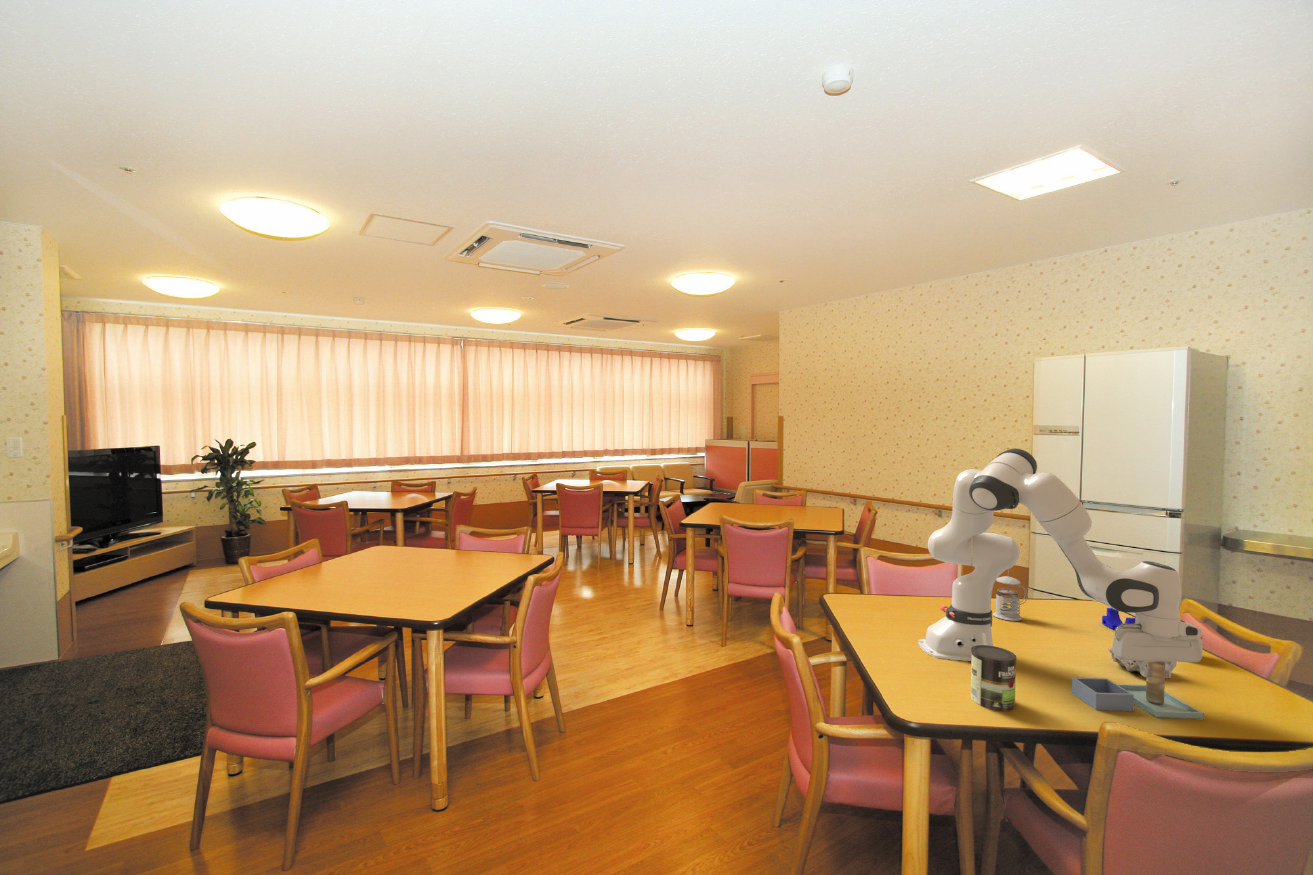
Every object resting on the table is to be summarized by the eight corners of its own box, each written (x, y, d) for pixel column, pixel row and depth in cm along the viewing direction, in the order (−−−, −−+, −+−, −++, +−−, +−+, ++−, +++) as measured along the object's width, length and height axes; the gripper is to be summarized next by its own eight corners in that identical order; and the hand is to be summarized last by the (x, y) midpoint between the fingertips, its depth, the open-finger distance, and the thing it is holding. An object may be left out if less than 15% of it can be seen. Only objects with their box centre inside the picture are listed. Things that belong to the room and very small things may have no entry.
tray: (1156, 720, 143) (1156, 711, 143) (1111, 691, 158) (1111, 683, 158) (1203, 721, 142) (1203, 713, 142) (1153, 692, 157) (1154, 685, 157)
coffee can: (1024, 710, 148) (1025, 656, 147) (997, 718, 144) (998, 663, 143) (987, 692, 157) (988, 642, 157) (961, 700, 153) (962, 648, 153)
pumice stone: (1156, 666, 174) (1157, 640, 174) (1182, 683, 163) (1183, 656, 163) (1104, 661, 177) (1104, 636, 177) (1126, 678, 166) (1126, 651, 166)
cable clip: (1102, 623, 212) (1102, 607, 212) (1115, 624, 211) (1115, 608, 211) (1123, 635, 200) (1124, 618, 200) (1137, 636, 199) (1138, 619, 199)
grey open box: (1095, 712, 146) (1096, 693, 146) (1071, 695, 156) (1072, 677, 155) (1133, 713, 146) (1133, 694, 146) (1106, 696, 155) (1107, 678, 155)
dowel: (1153, 703, 148) (1154, 665, 148) (1142, 696, 152) (1143, 659, 151) (1167, 703, 148) (1169, 666, 148) (1156, 697, 152) (1157, 660, 151)
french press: (988, 611, 224) (989, 548, 224) (1019, 612, 223) (1021, 549, 222) (999, 620, 215) (1000, 554, 214) (1032, 621, 213) (1034, 555, 212)
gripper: (1124, 627, 147) (1123, 680, 147) (1208, 629, 146) (1206, 683, 146) (1107, 619, 153) (1105, 670, 153) (1187, 621, 152) (1185, 672, 152)
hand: (1155, 676), depth 150 cm, fingers closed on dowel, 3 cm apart
